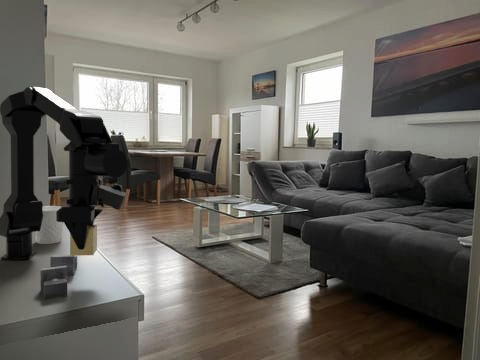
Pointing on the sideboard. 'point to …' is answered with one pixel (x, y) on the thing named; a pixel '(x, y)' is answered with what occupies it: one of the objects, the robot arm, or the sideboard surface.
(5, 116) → the robot arm
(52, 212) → the white cup
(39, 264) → the sideboard surface
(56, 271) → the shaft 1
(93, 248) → the block
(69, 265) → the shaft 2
